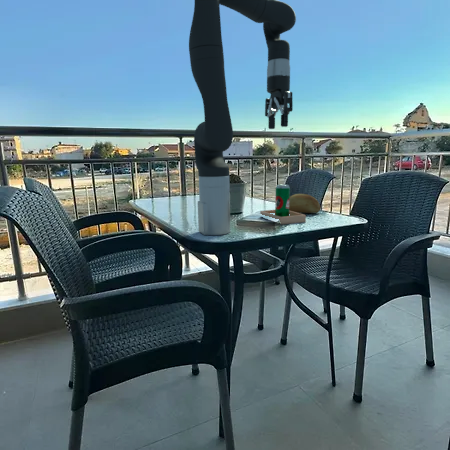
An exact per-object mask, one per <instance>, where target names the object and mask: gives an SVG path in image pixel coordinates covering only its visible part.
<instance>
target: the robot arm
mask: <svg viewBox="0 0 450 450" xmlns="http://www.w3.org/2000/svg"><path fill="white" fill-rule="evenodd" d="M220 6H223V7H226V8H229V9H230V10H233V11H235V12H237V13H238V14H241V15H242V16H244V17H245V18H247V19H249V20H251V21H252V22H254V23H257V24H262V29H263V35H264V37H265V38H264V39H265V42H266V46H267V66H266V67H267V68H266V92H267V93H269V95H270V97H269V98H267V97H266V98H265V100H264V101H265V104H264V117H267V118H268V120H267V121H268V123H267V124H268V129H269V130H274V129H276V118H275V117H276V115H277V114H278V112H280V127H282V128H283V127H284V128H287V127H288V126H289V115H290V112H292V111H293V106H294V105H293V101H294V100H293V92H292V91H290V90H291V65H290V60H291V59H290V58H291V57H290V55H291V54H290V53H291V49H290V46H291V45H290V43H289V42H288V40H286V39H281V35H282V34H283V33H286V32H288V31H291V30H292V29H293V28H294V26H295V25H296V22H297V16H296V12H295V10H294V9H293V7H292V6H291V5H290V4H288V3H286V2H284V1H280V0H194V7H193V8H194V9H193V14H192V20H191V26H190V29H189V38H188V53H189V63H190V69H191V70H190V71H191V74H192V77H193V80H194V82H195V84H196V86H197V89H198V90H199V93H200V95H201V99H202V103H203V104H202V105H203V113H204V116H203V117H204V121H203V122H201V123H199V124H198V125H197V127H196V128H195V131H194V134H193V135H194V136H193V137H194V138H193V142H194V143H193V145H194V158H195V166H196V168H197V174H198V194H199V195H198V197H199V199H198V200H197V215H198V216H197V219H198V222H197V223H198V224H197V225H198V232H199V233H201V234H202V235H204V236H208V235H209V236H221V235H227V234H229V233H231V203H230V202H231V194H230V188H231V187H230V184H231V183H230V167H229V165H228V164H227V163H226V162H225V160H224V152H225V151H227V150H228V149H229V148H230V147H231V145H232V143H233V139H234V131H233V123H232V119H231V113H230V107H229V102H228V93H227V82H226V81H227V80H226V72H225V71H226V70H225V58H224V47H223V38H222V26H221V25H222V23H221V11H220V10H221V9H220Z"/></svg>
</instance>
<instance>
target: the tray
mask: <svg viewBox="0 0 450 450" xmlns="http://www.w3.org/2000/svg"><path fill="white" fill-rule="evenodd" d="M259 212H260V213H259V215H260V214H262V215H265V216H269V217H272V218H275V219H279V220H280V222H281V225H290V224H301V223H306V220H307V219H306V218H307V217H306V216H307V215H306V214H305V213H296V212H293V211H289V214H290V216H286V217H280V216H276V215H273V214H270V213H275V209H268V210H266V209H265V210H260V211H259Z"/></svg>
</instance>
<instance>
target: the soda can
mask: <svg viewBox="0 0 450 450" xmlns="http://www.w3.org/2000/svg"><path fill="white" fill-rule="evenodd" d="M290 196H291V188H290V185H289V184H276V187H275V198H274V199H275V202H274V203H275V204H274V206H275V208H274V210H275V215H276V216H280V217H286V216H289V208H290Z"/></svg>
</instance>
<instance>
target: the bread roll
mask: <svg viewBox="0 0 450 450" xmlns="http://www.w3.org/2000/svg"><path fill="white" fill-rule="evenodd" d="M289 211H293V212H296V213H300V214H309V213H310V214H316V213H319V212H320V211H321V205H320V202H319V201H318V200H317V198H315V197H314V196H312V195H310V194H306V193H295V194H292V195H290V208H289Z"/></svg>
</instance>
